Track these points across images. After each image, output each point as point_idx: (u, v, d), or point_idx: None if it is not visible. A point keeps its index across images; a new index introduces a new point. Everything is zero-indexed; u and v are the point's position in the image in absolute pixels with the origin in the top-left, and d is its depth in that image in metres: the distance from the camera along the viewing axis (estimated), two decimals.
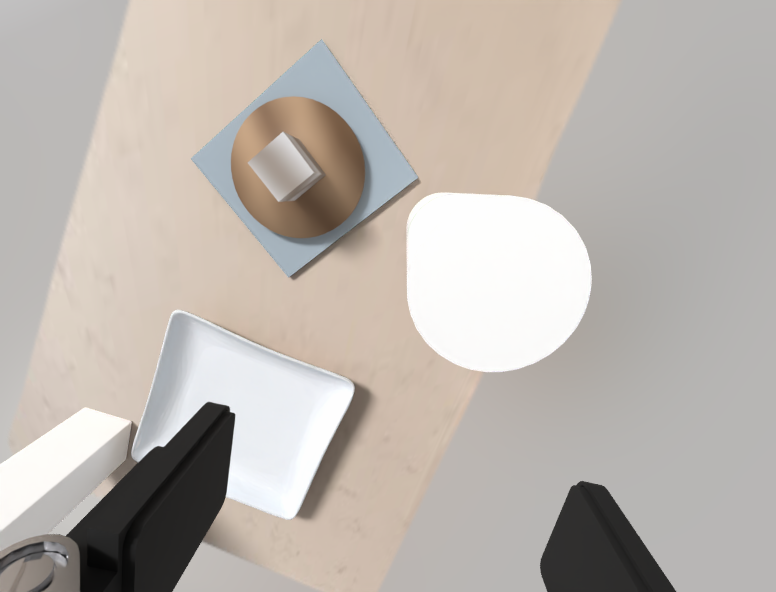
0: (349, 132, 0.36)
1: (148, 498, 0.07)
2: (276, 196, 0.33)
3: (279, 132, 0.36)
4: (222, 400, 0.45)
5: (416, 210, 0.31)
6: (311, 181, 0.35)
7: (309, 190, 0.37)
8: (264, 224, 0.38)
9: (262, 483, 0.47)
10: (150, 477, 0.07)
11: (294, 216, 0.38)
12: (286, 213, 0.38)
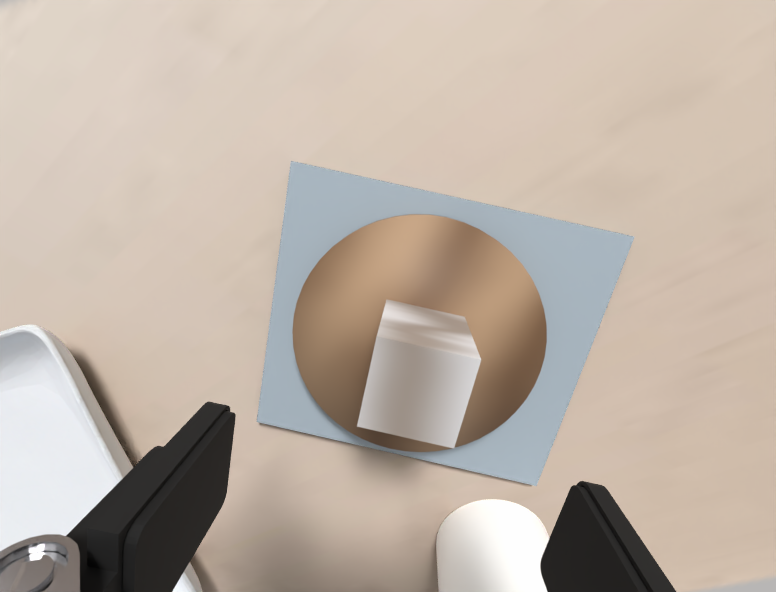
0: (531, 377, 0.20)
1: (148, 498, 0.07)
2: (362, 417, 0.15)
3: (451, 280, 0.19)
4: (3, 453, 0.25)
5: None
6: None
7: None
8: (297, 352, 0.20)
9: None
10: (150, 477, 0.07)
11: (348, 384, 0.20)
12: (342, 372, 0.20)
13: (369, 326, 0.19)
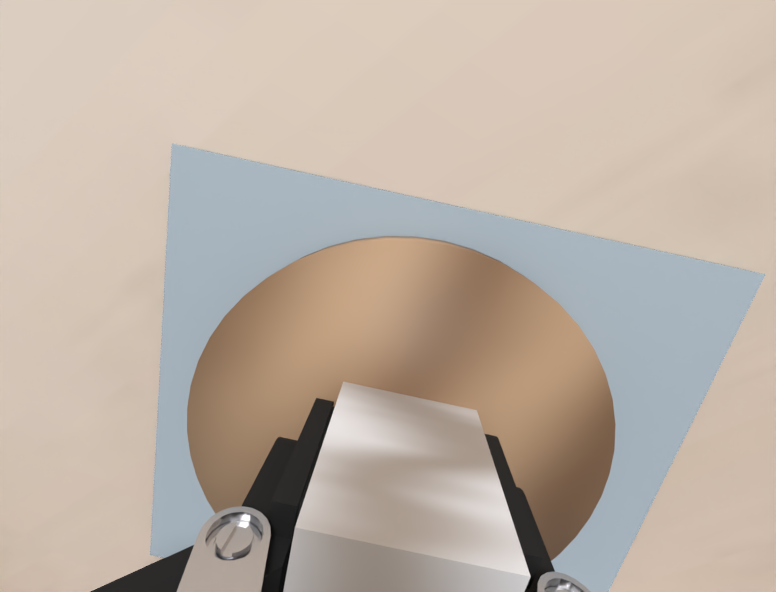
0: (586, 504, 0.12)
1: (306, 478, 0.08)
2: None
3: (453, 352, 0.11)
4: None
5: None
6: None
7: None
8: (198, 463, 0.12)
9: None
10: (300, 461, 0.08)
11: None
12: None
13: None
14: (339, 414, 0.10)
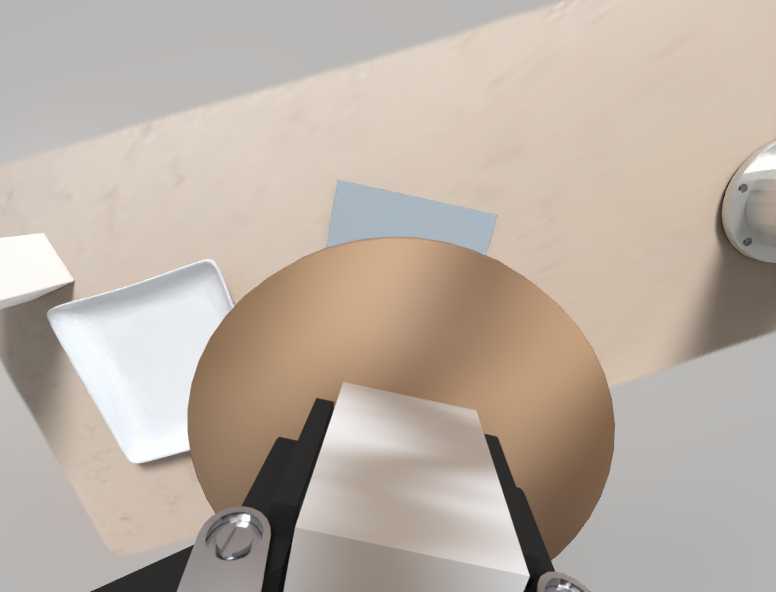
0: (586, 504, 0.12)
1: (306, 479, 0.08)
2: None
3: (453, 352, 0.11)
4: (171, 338, 0.45)
5: None
6: None
7: None
8: (198, 463, 0.12)
9: (134, 417, 0.47)
10: (300, 461, 0.08)
11: None
12: None
13: None
14: (339, 414, 0.10)
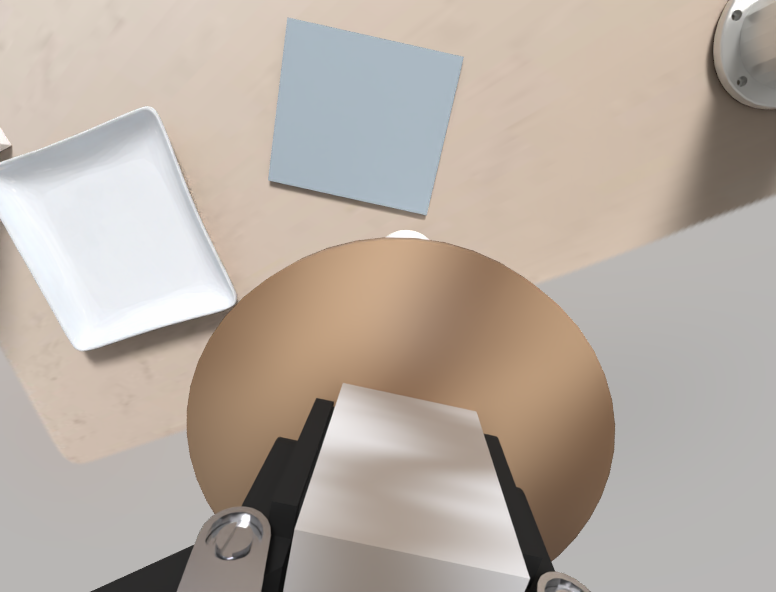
0: (586, 505, 0.12)
1: (307, 478, 0.08)
2: None
3: (453, 353, 0.11)
4: (116, 210, 0.41)
5: None
6: None
7: None
8: (198, 464, 0.12)
9: (81, 301, 0.44)
10: (300, 461, 0.08)
11: None
12: None
13: None
14: (339, 415, 0.10)
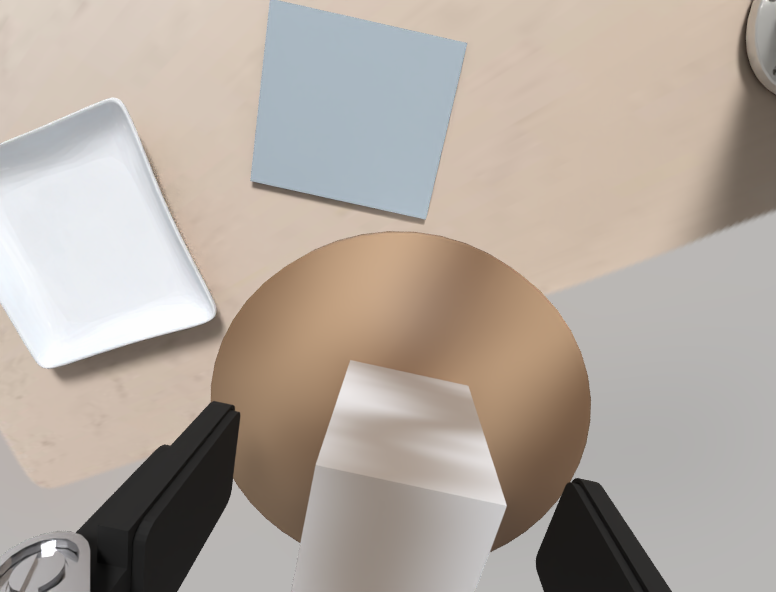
0: (566, 471, 0.13)
1: (156, 496, 0.07)
2: None
3: (447, 333, 0.12)
4: (82, 213, 0.38)
5: None
6: None
7: None
8: None
9: (46, 314, 0.40)
10: (158, 475, 0.07)
11: (296, 479, 0.14)
12: (287, 462, 0.14)
13: (325, 398, 0.13)
14: (348, 385, 0.11)
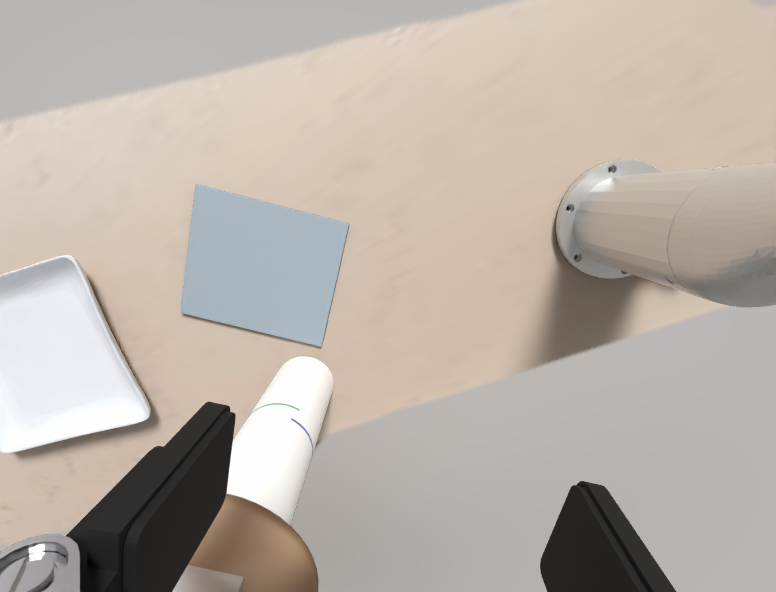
0: None
1: (148, 498, 0.07)
2: None
3: (228, 551, 0.22)
4: (40, 330, 0.46)
5: (285, 389, 0.39)
6: None
7: None
8: None
9: (7, 407, 0.48)
10: (150, 477, 0.07)
11: None
12: None
13: None
14: None
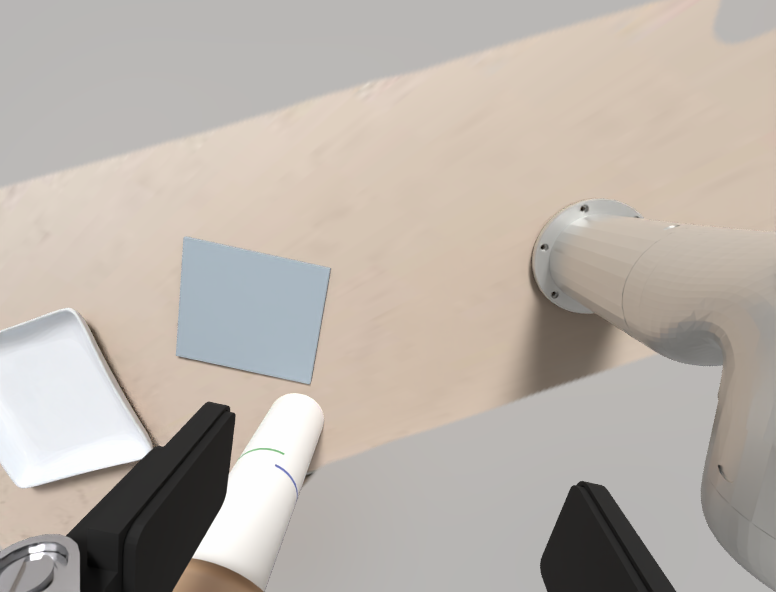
0: None
1: (148, 499, 0.07)
2: None
3: None
4: (49, 375, 0.49)
5: (272, 431, 0.41)
6: None
7: None
8: None
9: (22, 445, 0.51)
10: (150, 477, 0.07)
11: None
12: None
13: None
14: None
